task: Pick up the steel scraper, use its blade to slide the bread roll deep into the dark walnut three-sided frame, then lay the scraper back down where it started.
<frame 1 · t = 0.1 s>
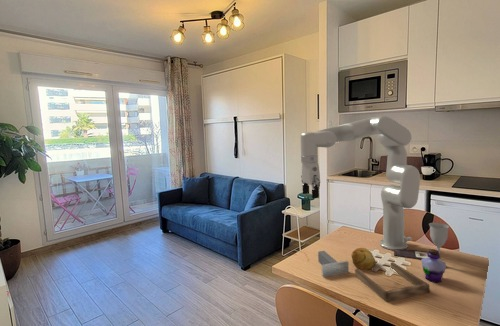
hand: (310, 195, 128), 31 cm above the table, tool pointing down, fingers open, 9 cm apart
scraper: (327, 267, 123), on the table
potion bottle: (433, 279, 109), on the table
chocolate bar: (415, 256, 130), on the table
bread roll: (363, 265, 124), on the table
chalice: (438, 265, 119), on the table
walnut frame: (388, 282, 108), on the table
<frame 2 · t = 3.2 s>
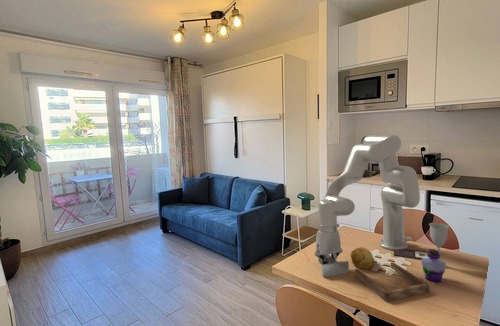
hand: (329, 267, 122), 0 cm above the table, tool pointing down, fingers closed on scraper, 3 cm apart
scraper: (327, 267, 123), on the table, touching gripper
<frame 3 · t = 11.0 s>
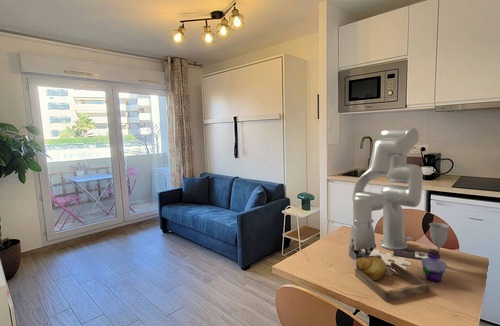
hand: (362, 262, 124), 1 cm above the table, tool pointing down, fingers closed on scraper, 3 cm apart
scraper: (359, 261, 127), on the table, touching bread roll, gripper
bread roll: (374, 274, 115), on the table, touching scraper
everything else where it was.
when the fingers open (2 cm above the table, at t = 18.4 s): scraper drops 1 cm, on the table.
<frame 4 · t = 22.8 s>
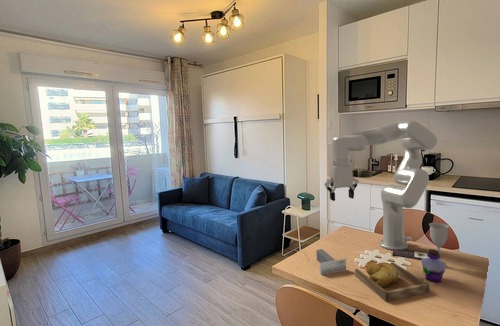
hand: (342, 199, 129), 28 cm above the table, tool pointing down, fingers open, 9 cm apart
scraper: (325, 265, 125), on the table
bread roll: (384, 281, 109), on the table
everything else where it was.
at the end: bread roll inside the target area on the walnut frame (3.3 cm from its centre), point 0.0 cm above the walnut frame's base; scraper inside the target area (1.4 cm from its centre), on the table; the gripper is holding nothing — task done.
